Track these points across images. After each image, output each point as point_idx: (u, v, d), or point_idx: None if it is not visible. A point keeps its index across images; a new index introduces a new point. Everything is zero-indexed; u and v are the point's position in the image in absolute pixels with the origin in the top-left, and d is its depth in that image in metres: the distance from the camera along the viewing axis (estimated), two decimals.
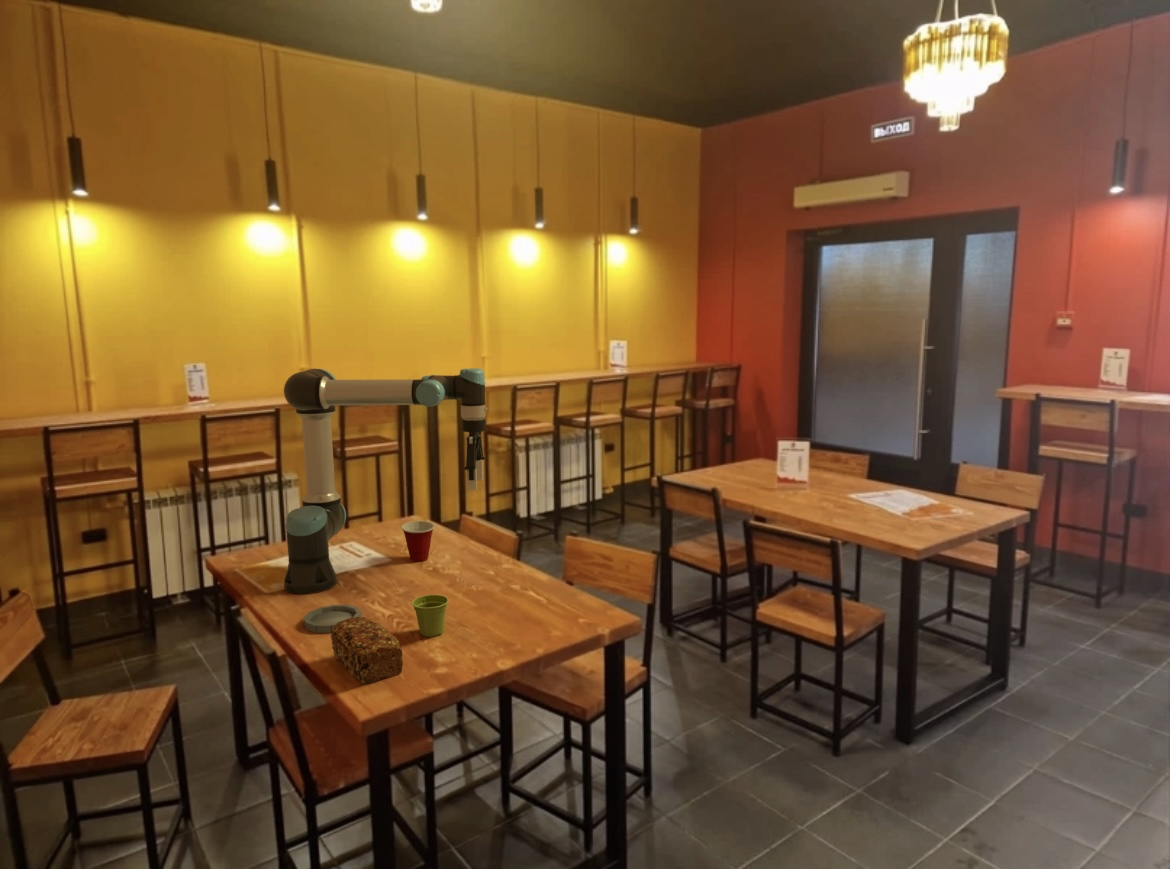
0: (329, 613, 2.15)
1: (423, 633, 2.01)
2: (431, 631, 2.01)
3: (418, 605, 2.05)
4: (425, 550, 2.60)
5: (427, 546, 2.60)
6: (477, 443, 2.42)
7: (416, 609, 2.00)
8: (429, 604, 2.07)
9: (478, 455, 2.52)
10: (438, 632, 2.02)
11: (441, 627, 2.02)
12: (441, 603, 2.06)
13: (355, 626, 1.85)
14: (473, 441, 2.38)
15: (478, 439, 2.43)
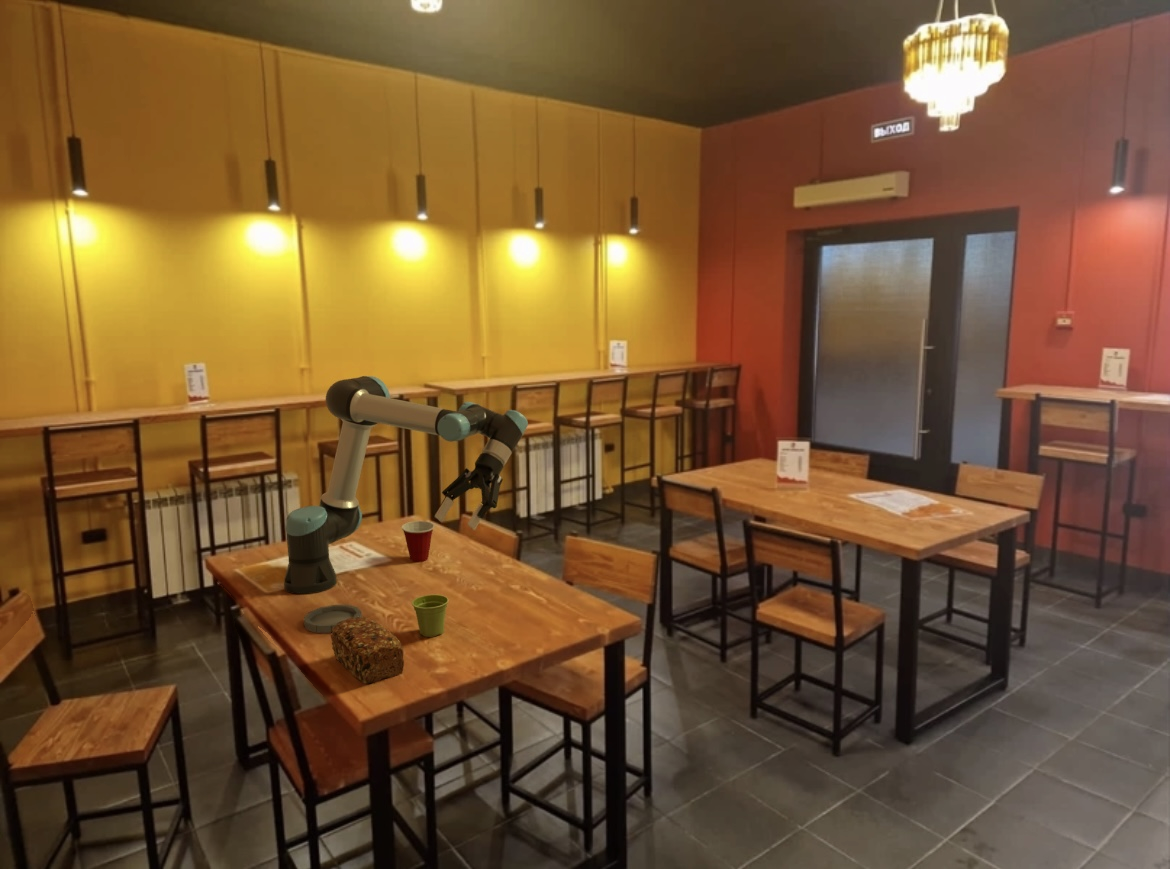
0: (329, 613, 2.15)
1: (423, 633, 2.01)
2: (431, 631, 2.01)
3: (418, 605, 2.05)
4: (425, 550, 2.60)
5: (427, 546, 2.60)
6: (489, 485, 2.17)
7: (416, 609, 2.00)
8: (429, 604, 2.07)
9: (456, 495, 2.19)
10: (438, 632, 2.02)
11: (441, 627, 2.02)
12: (441, 603, 2.06)
13: (356, 626, 1.85)
14: (500, 481, 2.14)
15: None
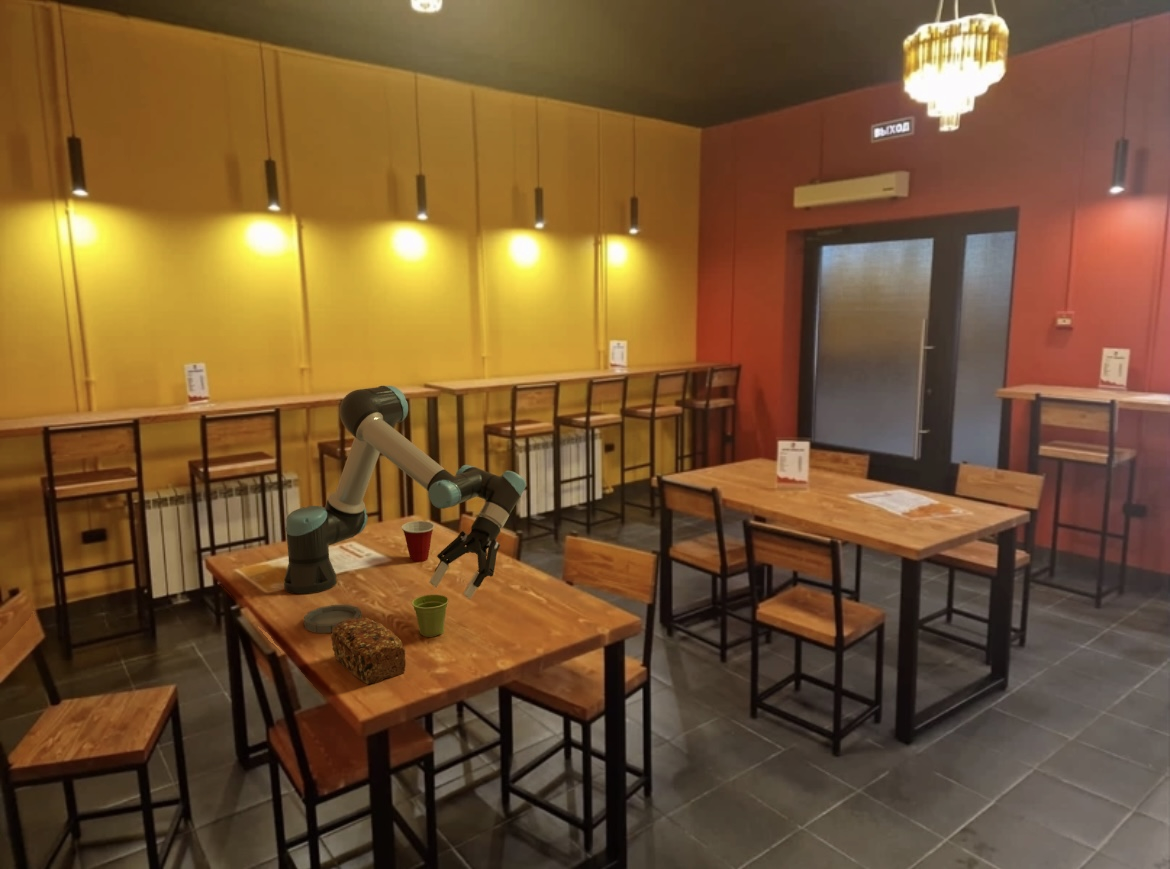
0: (329, 613, 2.15)
1: (423, 633, 2.01)
2: (431, 631, 2.01)
3: (418, 605, 2.05)
4: (425, 550, 2.60)
5: (427, 546, 2.60)
6: (486, 550, 2.11)
7: (416, 609, 2.00)
8: (429, 604, 2.07)
9: (451, 559, 2.14)
10: (438, 632, 2.02)
11: (441, 627, 2.02)
12: (441, 603, 2.06)
13: (356, 627, 1.85)
14: (497, 547, 2.09)
15: None
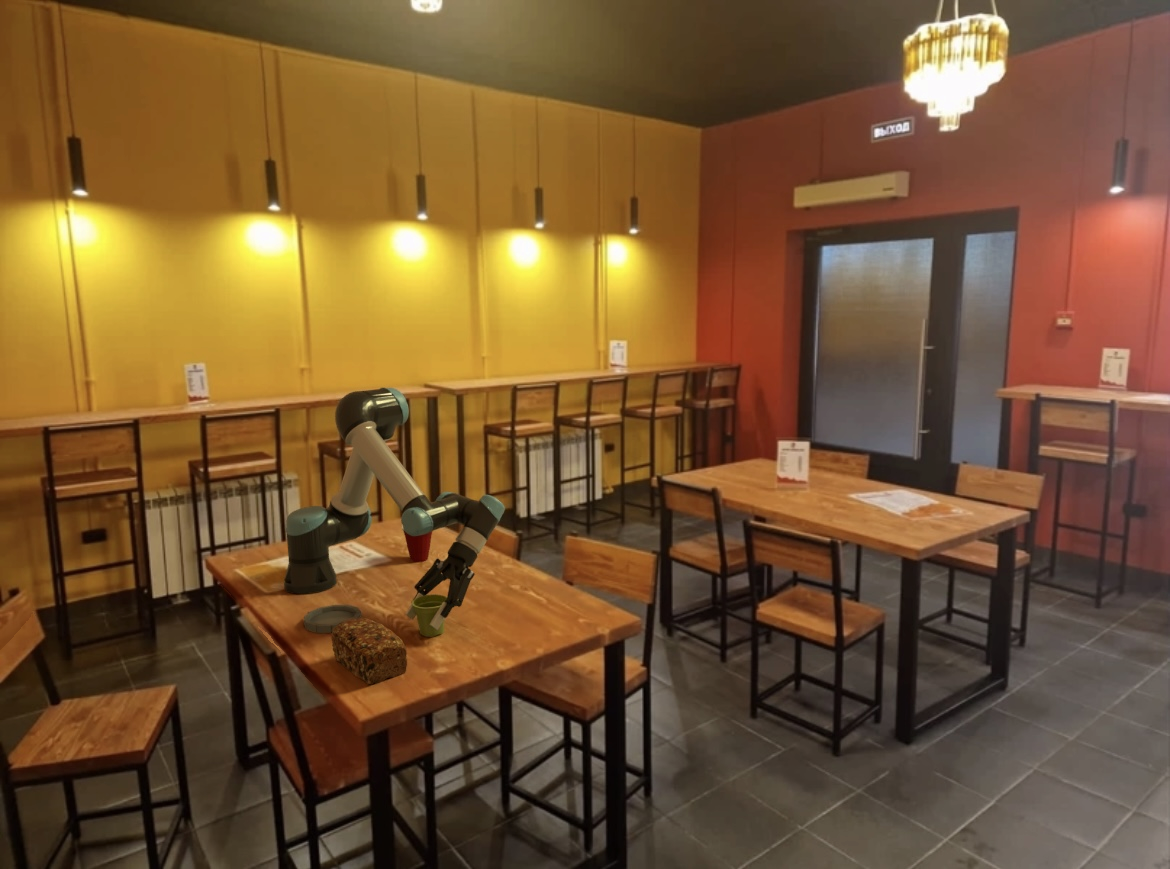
0: (329, 613, 2.15)
1: (423, 633, 2.01)
2: (431, 630, 2.01)
3: (418, 605, 2.05)
4: (425, 550, 2.60)
5: (427, 546, 2.60)
6: (460, 577, 2.07)
7: (416, 609, 2.00)
8: (429, 604, 2.07)
9: (428, 589, 2.08)
10: (438, 632, 2.02)
11: (441, 626, 2.02)
12: (441, 603, 2.06)
13: (357, 627, 1.85)
14: (471, 576, 2.04)
15: None
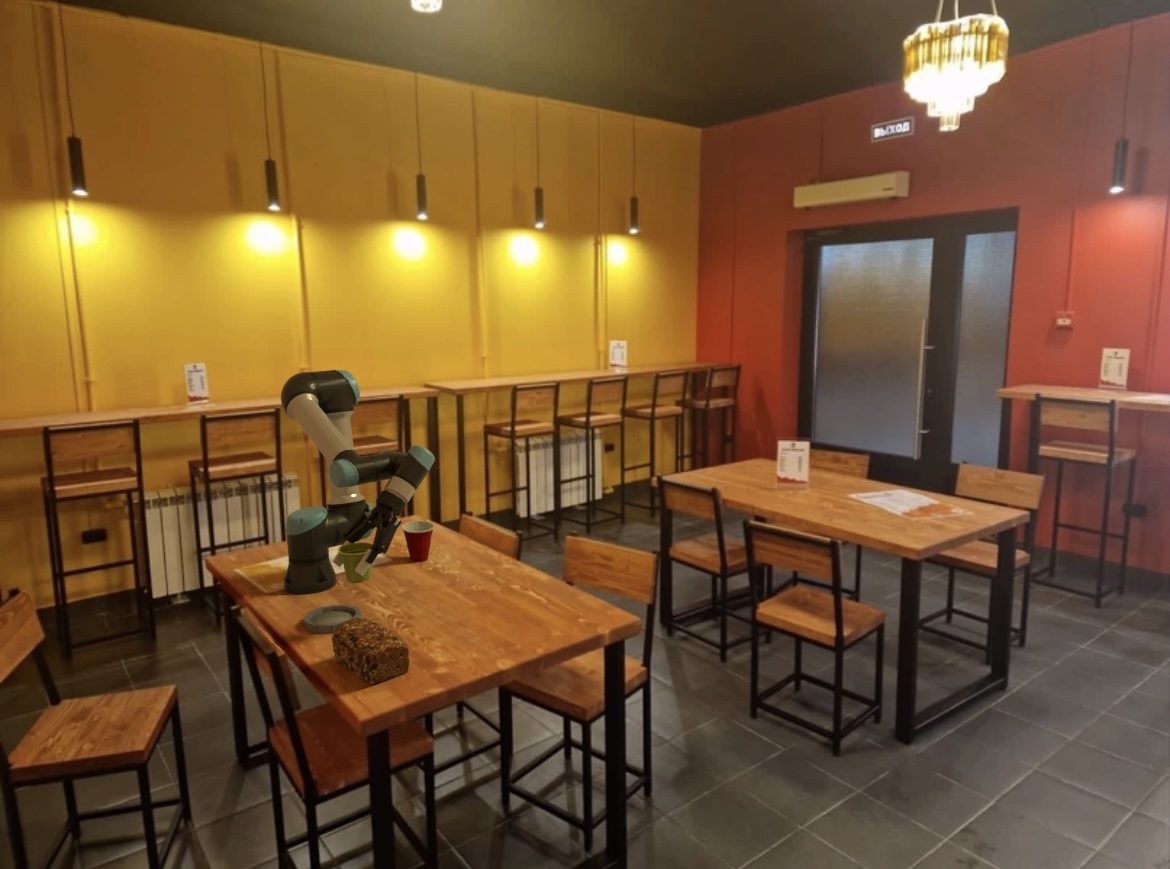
0: (329, 613, 2.15)
1: (349, 579, 2.03)
2: (357, 577, 2.02)
3: (345, 552, 2.06)
4: (425, 550, 2.60)
5: (427, 546, 2.60)
6: None
7: (342, 556, 2.01)
8: (357, 552, 2.08)
9: (356, 537, 2.09)
10: (364, 579, 2.03)
11: (367, 573, 2.04)
12: None
13: (358, 627, 1.84)
14: (398, 524, 2.05)
15: None
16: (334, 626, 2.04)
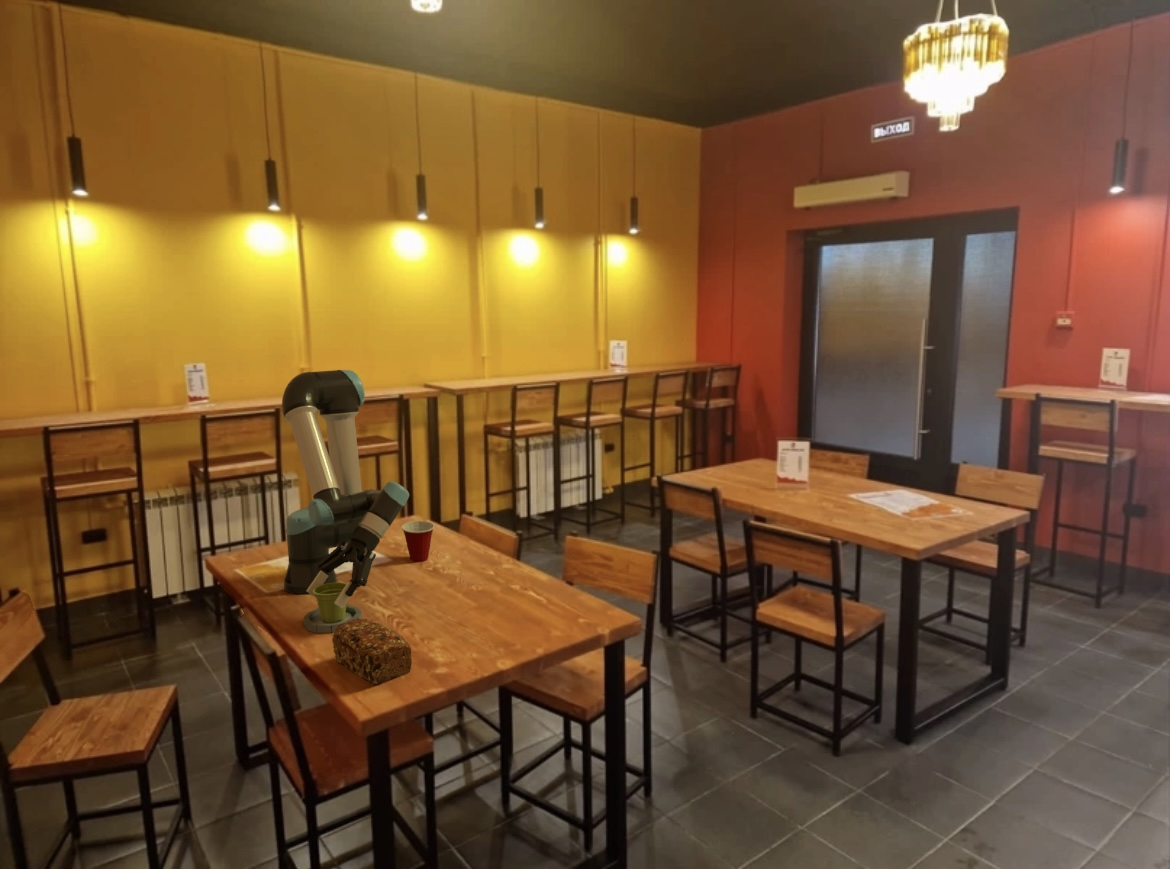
0: None
1: (324, 619, 2.09)
2: (331, 617, 2.08)
3: (320, 592, 2.12)
4: (425, 550, 2.60)
5: (427, 546, 2.60)
6: (363, 560, 2.13)
7: (316, 596, 2.07)
8: (332, 592, 2.14)
9: (330, 568, 2.16)
10: (338, 618, 2.09)
11: (341, 613, 2.09)
12: None
13: (359, 628, 1.84)
14: (373, 557, 2.11)
15: None
16: (334, 626, 2.04)
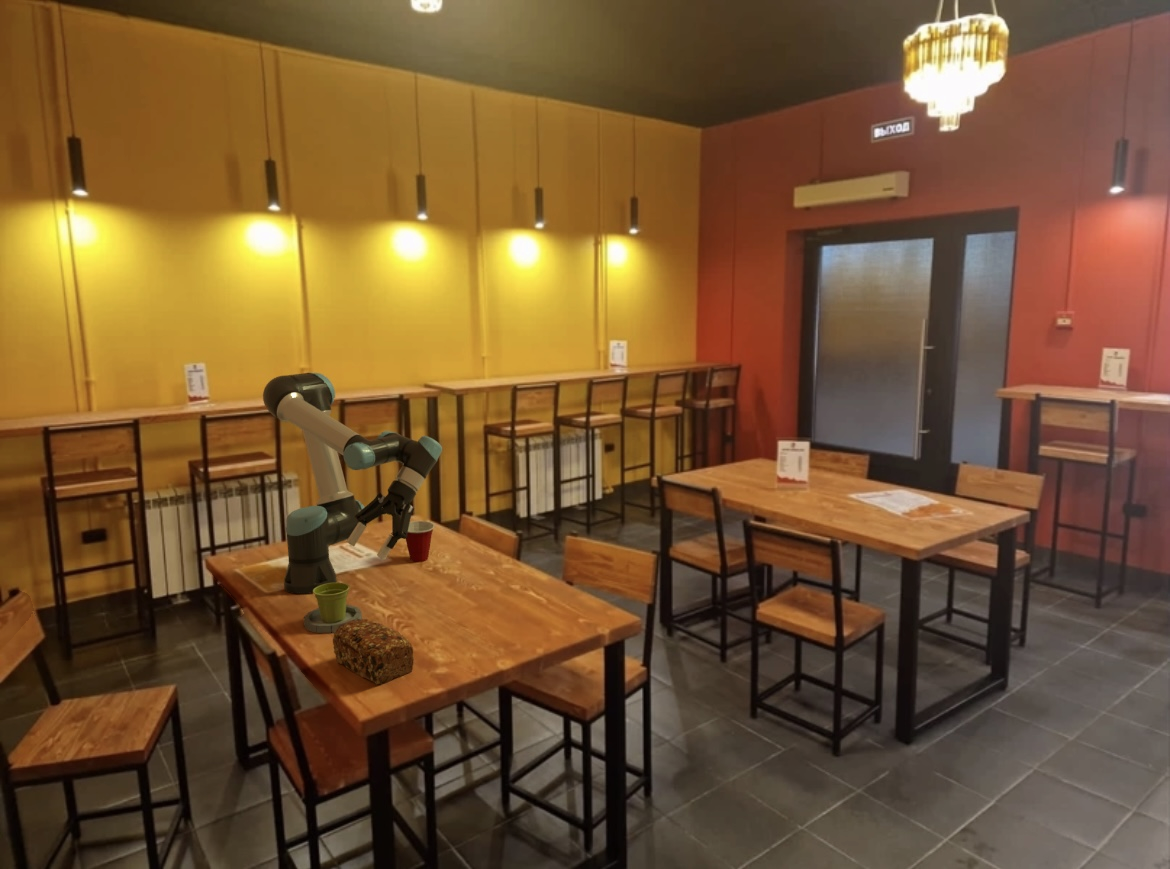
0: None
1: (324, 619, 2.09)
2: (331, 617, 2.08)
3: (320, 592, 2.12)
4: (425, 550, 2.60)
5: (427, 546, 2.60)
6: (401, 512, 2.22)
7: (316, 596, 2.07)
8: (332, 592, 2.14)
9: (368, 519, 2.24)
10: (338, 618, 2.09)
11: (341, 613, 2.09)
12: (343, 591, 2.13)
13: (360, 628, 1.84)
14: (411, 511, 2.19)
15: None
16: (334, 626, 2.04)
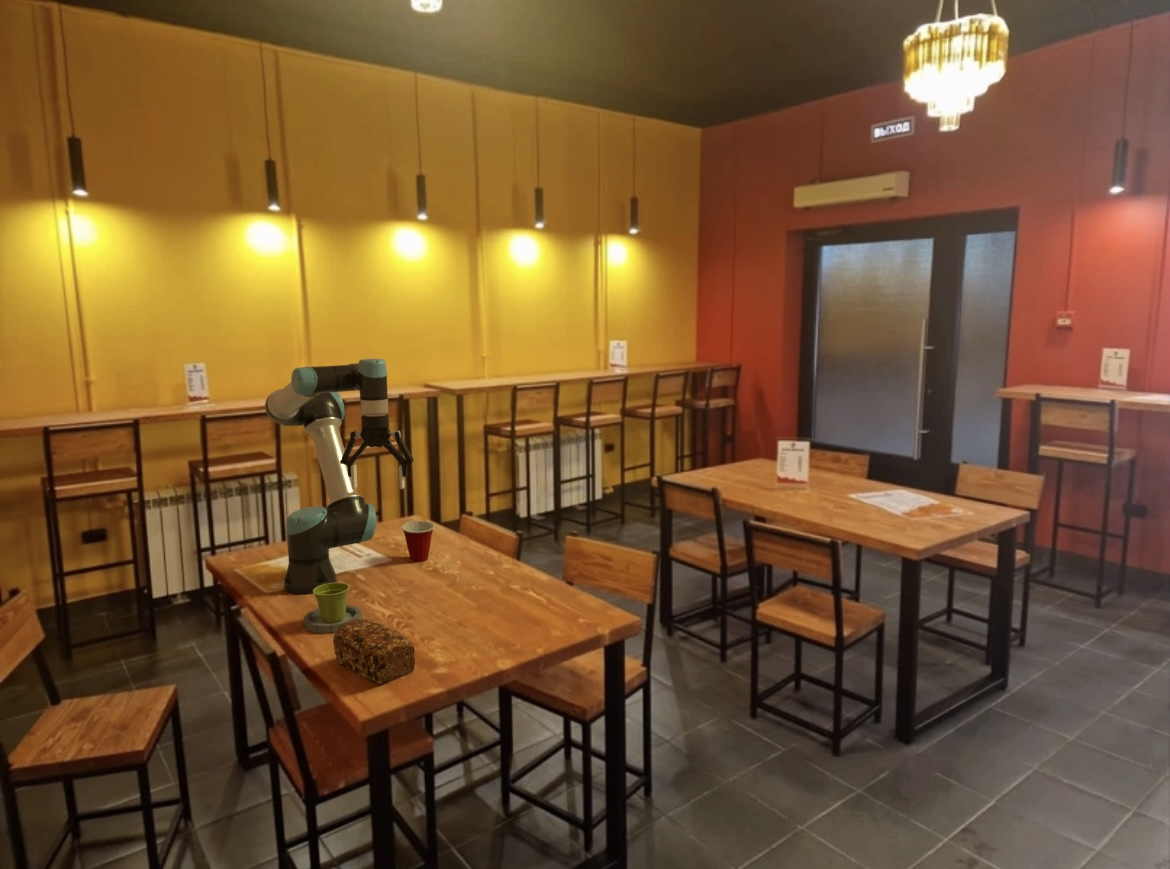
0: None
1: (324, 619, 2.09)
2: (331, 617, 2.08)
3: (320, 592, 2.12)
4: (425, 550, 2.60)
5: (427, 546, 2.60)
6: None
7: (316, 596, 2.07)
8: (332, 592, 2.14)
9: (356, 459, 2.23)
10: (338, 618, 2.09)
11: (341, 613, 2.09)
12: (343, 591, 2.13)
13: (361, 628, 1.84)
14: (400, 434, 2.22)
15: None
16: (334, 626, 2.04)
